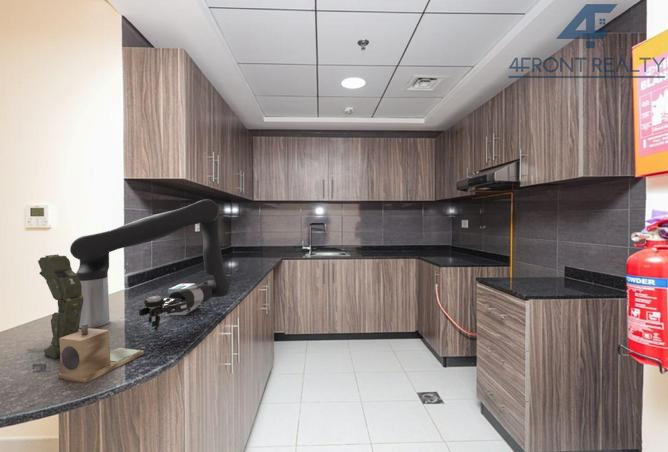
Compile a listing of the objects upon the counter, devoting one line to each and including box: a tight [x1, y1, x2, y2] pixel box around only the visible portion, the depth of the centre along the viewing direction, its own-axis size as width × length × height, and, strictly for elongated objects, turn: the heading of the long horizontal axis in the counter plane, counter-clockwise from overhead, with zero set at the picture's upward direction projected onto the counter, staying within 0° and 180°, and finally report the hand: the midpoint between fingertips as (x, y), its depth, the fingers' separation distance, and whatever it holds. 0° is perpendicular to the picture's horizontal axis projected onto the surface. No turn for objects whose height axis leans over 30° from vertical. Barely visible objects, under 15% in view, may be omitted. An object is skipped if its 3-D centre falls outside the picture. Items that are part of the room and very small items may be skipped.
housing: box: [57, 324, 145, 384], centre depth 83 cm, size 16×9×12 cm, turn 164°
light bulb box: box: [167, 283, 197, 316], centre depth 130 cm, size 11×7×11 cm, turn 179°
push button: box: [143, 295, 164, 332], centre depth 98 cm, size 7×5×10 cm
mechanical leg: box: [37, 254, 84, 360], centre depth 91 cm, size 14×7×30 cm, turn 71°
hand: (145, 313), depth 95 cm, fingers closed on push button, 3 cm apart
